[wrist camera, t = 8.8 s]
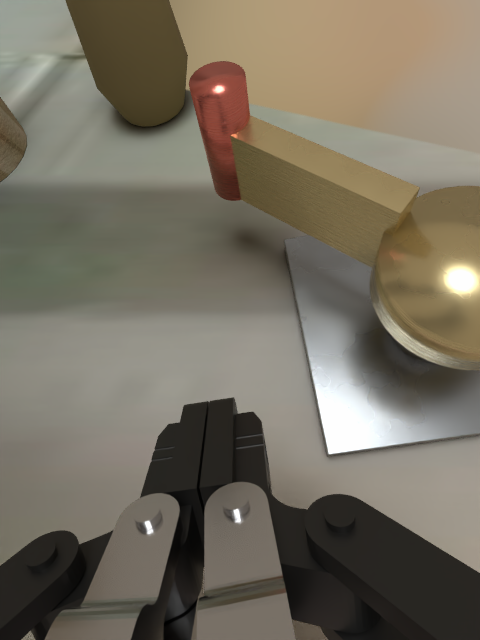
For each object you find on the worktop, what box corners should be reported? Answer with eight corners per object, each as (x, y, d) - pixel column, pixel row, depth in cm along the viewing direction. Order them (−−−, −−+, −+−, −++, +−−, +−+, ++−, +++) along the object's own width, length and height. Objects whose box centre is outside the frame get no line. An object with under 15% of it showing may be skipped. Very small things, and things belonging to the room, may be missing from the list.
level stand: (327, 456, 22) (343, 431, 15) (284, 249, 28) (281, 158, 21) (611, 416, 21) (781, 368, 14) (504, 211, 27) (582, 102, 20)
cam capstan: (176, 219, 23) (137, 123, 18) (258, 134, 25) (247, 24, 20) (501, 410, 17) (610, 359, 11) (574, 274, 19) (699, 170, 13)
